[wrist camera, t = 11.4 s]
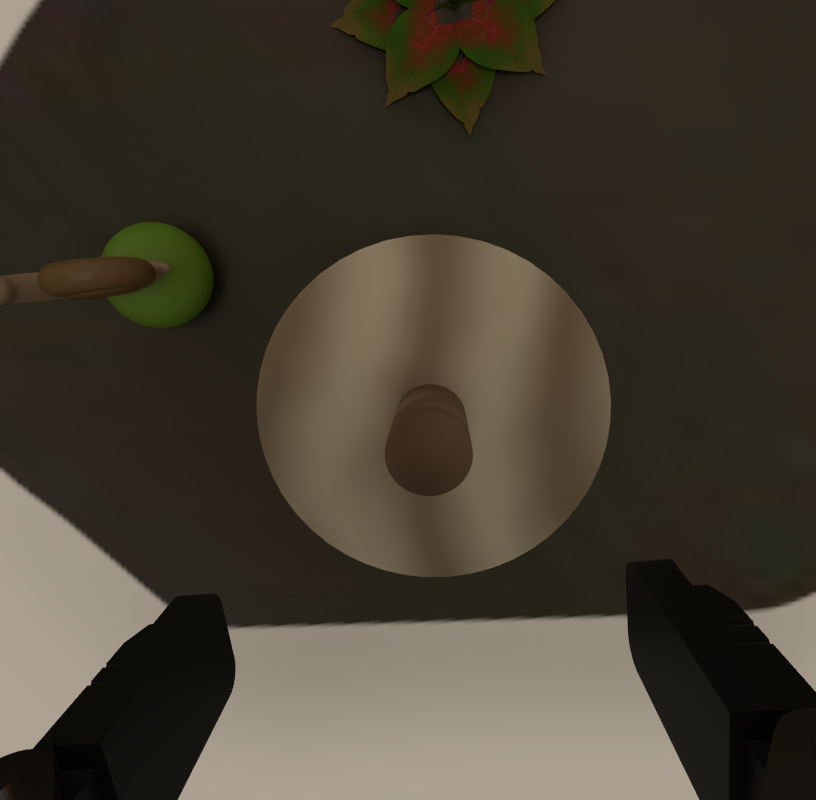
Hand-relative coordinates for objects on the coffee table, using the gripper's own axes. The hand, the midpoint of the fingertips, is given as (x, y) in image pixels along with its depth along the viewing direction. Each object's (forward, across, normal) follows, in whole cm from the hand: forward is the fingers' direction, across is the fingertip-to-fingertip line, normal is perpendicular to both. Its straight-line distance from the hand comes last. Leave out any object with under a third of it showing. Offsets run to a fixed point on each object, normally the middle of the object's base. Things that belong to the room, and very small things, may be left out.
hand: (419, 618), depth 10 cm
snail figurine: (+22, +14, -8) cm, 27 cm away
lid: (+15, 0, 0) cm, 15 cm away
